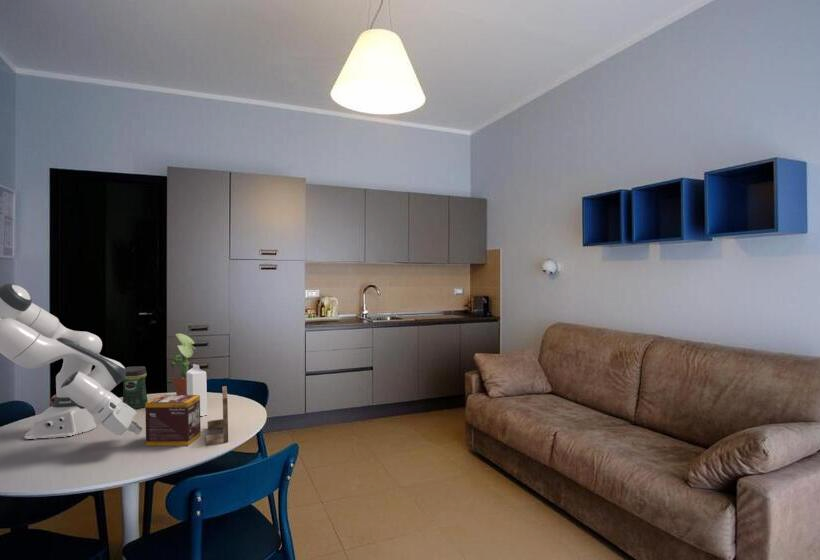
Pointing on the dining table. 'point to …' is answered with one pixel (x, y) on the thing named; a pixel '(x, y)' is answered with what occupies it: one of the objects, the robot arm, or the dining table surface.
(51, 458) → the dining table surface
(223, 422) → the display stand
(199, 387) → the milk
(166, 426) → the supplement box
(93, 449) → the dining table surface
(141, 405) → the coffee jar
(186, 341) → the potted plant
